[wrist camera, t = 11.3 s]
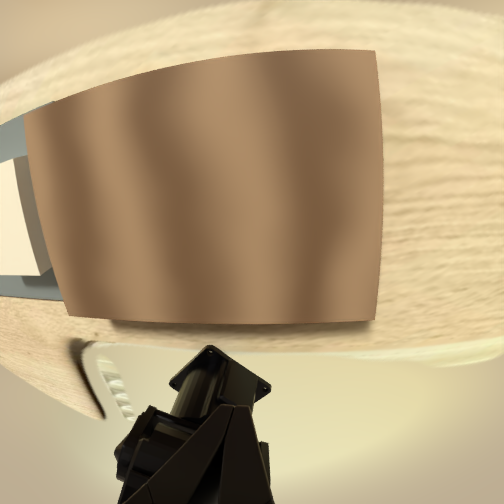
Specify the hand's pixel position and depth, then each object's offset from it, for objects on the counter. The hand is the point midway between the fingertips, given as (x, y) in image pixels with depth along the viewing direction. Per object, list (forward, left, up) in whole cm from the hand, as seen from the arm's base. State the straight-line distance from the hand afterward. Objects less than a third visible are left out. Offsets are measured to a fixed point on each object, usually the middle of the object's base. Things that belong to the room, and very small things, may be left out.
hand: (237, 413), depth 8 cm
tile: (-11, +17, -11) cm, 23 cm away
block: (0, +6, -13) cm, 14 cm away
